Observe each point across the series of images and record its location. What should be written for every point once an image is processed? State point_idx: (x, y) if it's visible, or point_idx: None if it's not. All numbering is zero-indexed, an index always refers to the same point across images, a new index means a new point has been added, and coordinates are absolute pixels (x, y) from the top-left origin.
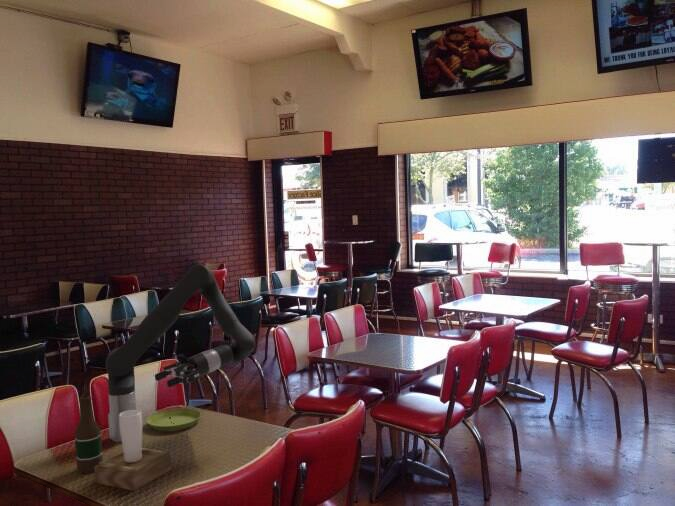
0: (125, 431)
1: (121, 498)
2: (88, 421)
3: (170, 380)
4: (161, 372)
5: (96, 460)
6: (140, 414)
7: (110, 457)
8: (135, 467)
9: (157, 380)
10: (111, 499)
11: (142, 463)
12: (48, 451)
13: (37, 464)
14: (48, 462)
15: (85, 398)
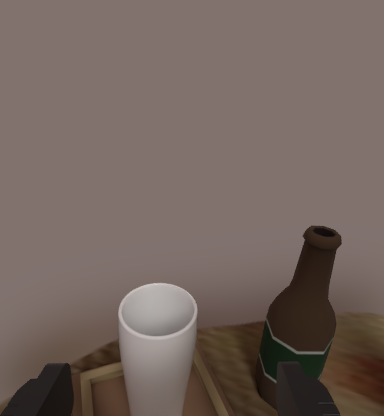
0: (140, 323)
1: (76, 368)
2: (290, 289)
3: (35, 381)
4: (303, 411)
5: (261, 374)
6: (123, 330)
7: (205, 370)
8: (84, 382)
9: (277, 408)
10: (93, 355)
11: (87, 408)
12: None
13: (369, 331)
14: (373, 345)
15: (306, 230)
